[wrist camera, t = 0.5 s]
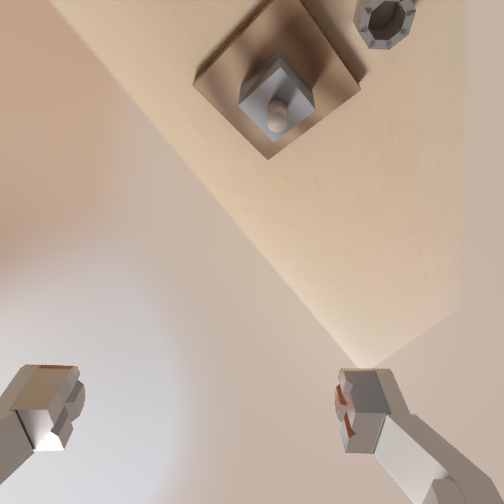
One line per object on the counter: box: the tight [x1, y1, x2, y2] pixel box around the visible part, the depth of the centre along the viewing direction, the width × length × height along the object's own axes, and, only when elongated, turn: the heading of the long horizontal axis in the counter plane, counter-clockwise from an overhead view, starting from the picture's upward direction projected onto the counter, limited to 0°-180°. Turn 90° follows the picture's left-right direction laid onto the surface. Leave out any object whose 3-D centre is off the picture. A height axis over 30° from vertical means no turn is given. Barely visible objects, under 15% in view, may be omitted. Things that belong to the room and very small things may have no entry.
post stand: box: [192, 0, 361, 160], centre depth 48 cm, size 17×16×12 cm
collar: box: [353, 0, 416, 50], centre depth 44 cm, size 6×6×4 cm
